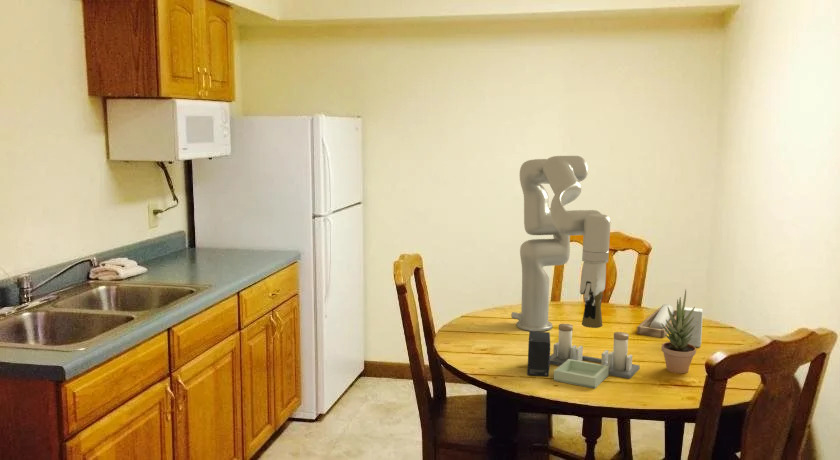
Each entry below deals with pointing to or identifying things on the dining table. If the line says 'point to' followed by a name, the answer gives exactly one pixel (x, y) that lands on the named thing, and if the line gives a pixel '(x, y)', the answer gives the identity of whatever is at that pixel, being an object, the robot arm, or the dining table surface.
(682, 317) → the potted plant
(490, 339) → the dining table surface
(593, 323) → the olive waisted cylinder
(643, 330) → the tube rest
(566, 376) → the tray
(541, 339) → the small box
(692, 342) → the skincare box
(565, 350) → the fuse block
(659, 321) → the tube
